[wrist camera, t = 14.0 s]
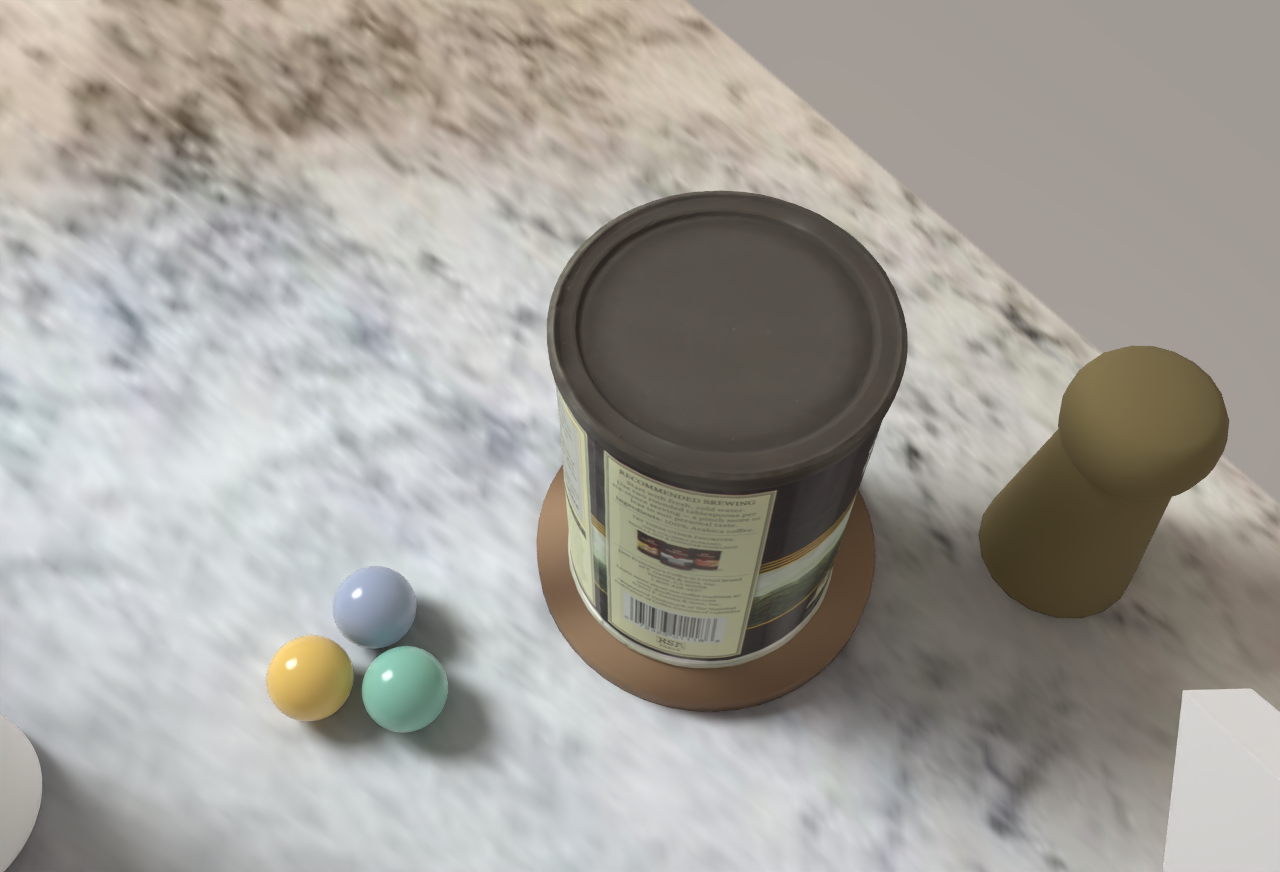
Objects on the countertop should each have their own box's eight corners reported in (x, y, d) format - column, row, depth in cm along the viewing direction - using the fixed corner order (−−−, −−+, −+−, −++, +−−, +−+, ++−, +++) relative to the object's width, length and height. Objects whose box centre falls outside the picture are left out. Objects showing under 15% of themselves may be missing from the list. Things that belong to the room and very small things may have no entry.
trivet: (479, 500, 48) (477, 487, 48) (749, 364, 52) (751, 350, 51) (649, 778, 43) (650, 770, 42) (938, 603, 46) (944, 592, 46)
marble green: (356, 689, 44) (340, 659, 42) (430, 649, 45) (418, 618, 43) (391, 759, 43) (377, 732, 40) (467, 716, 44) (457, 688, 41)
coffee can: (795, 412, 50) (852, 167, 38) (865, 645, 44) (957, 447, 32) (546, 449, 49) (523, 210, 37) (587, 693, 43) (576, 507, 31)
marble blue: (328, 610, 46) (311, 576, 43) (400, 573, 47) (388, 538, 44) (361, 675, 45) (346, 644, 42) (435, 635, 45) (424, 603, 43)
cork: (1103, 472, 50) (1216, 308, 40) (1156, 608, 46) (1291, 463, 37) (960, 489, 49) (1040, 326, 40) (1004, 627, 46) (1103, 486, 37)
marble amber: (264, 679, 44) (243, 648, 42) (340, 639, 45) (323, 607, 43) (297, 747, 43) (277, 720, 41) (374, 705, 44) (358, 676, 41)
